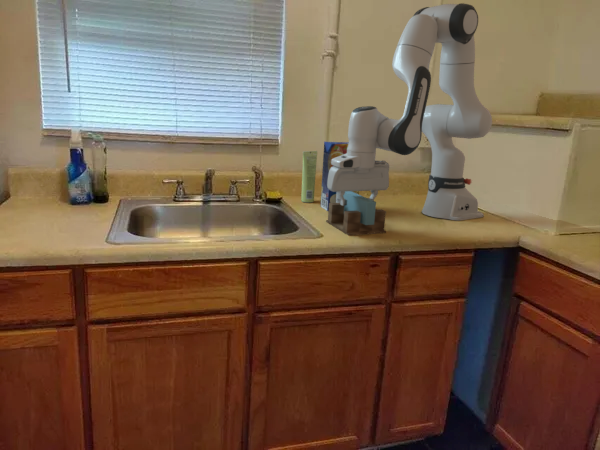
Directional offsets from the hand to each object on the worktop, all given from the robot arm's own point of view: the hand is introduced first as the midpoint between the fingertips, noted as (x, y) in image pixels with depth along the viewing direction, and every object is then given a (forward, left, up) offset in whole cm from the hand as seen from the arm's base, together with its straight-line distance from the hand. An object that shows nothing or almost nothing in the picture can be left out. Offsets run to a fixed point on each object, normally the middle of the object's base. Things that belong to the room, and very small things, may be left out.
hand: (357, 204), depth 151 cm
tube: (+1, -38, -8) cm, 39 cm away
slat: (0, 0, -4) cm, 4 cm away
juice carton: (-6, -25, -8) cm, 27 cm away
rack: (0, 0, -7) cm, 7 cm away
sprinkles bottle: (-4, -19, -8) cm, 21 cm away
